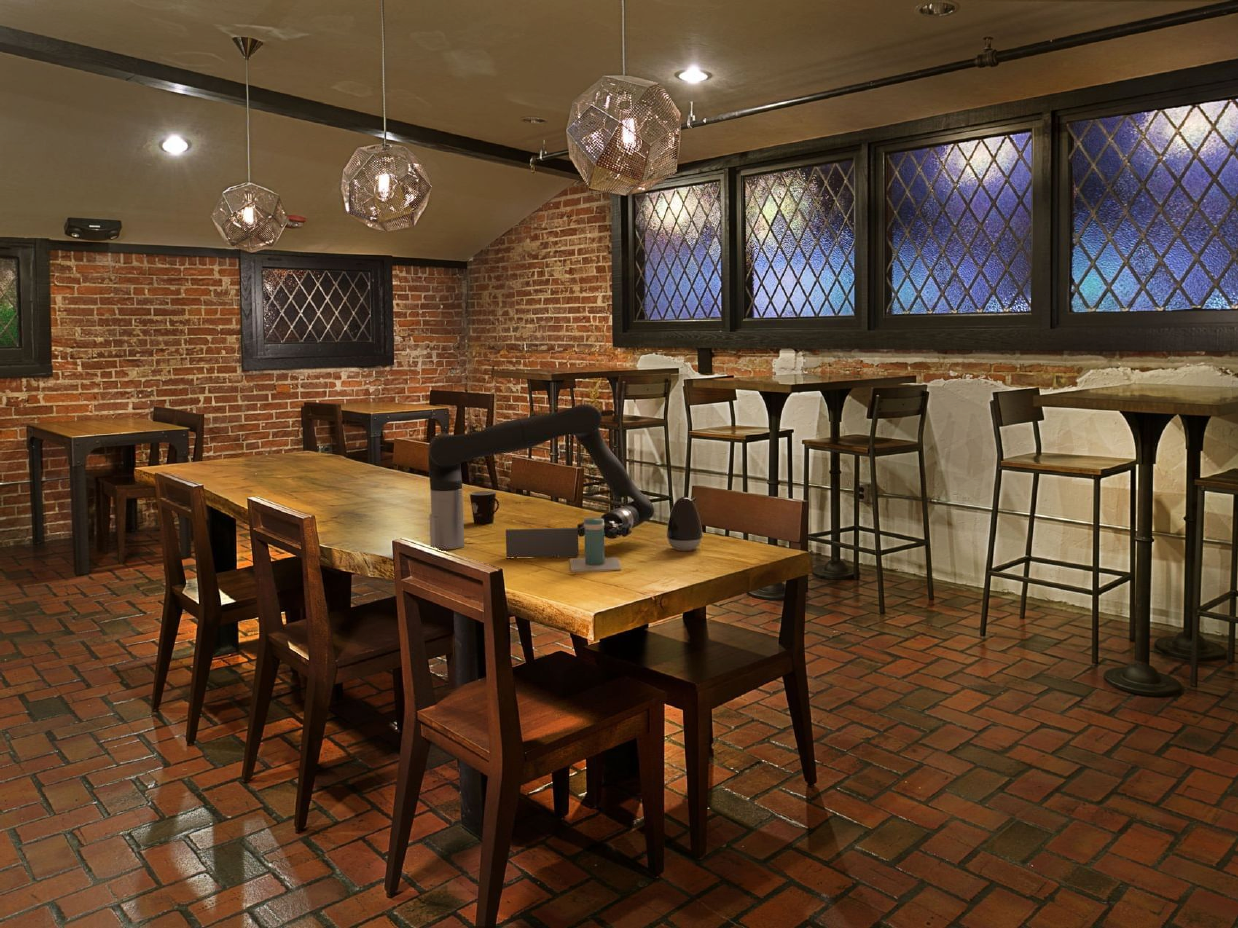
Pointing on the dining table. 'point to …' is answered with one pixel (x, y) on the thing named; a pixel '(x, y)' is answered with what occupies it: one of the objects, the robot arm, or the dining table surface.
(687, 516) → the black egg-shaped body
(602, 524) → the canister
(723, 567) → the dining table surface
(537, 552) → the screen
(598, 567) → the pad
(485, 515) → the coffee mug
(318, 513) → the dining table surface
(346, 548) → the dining table surface
